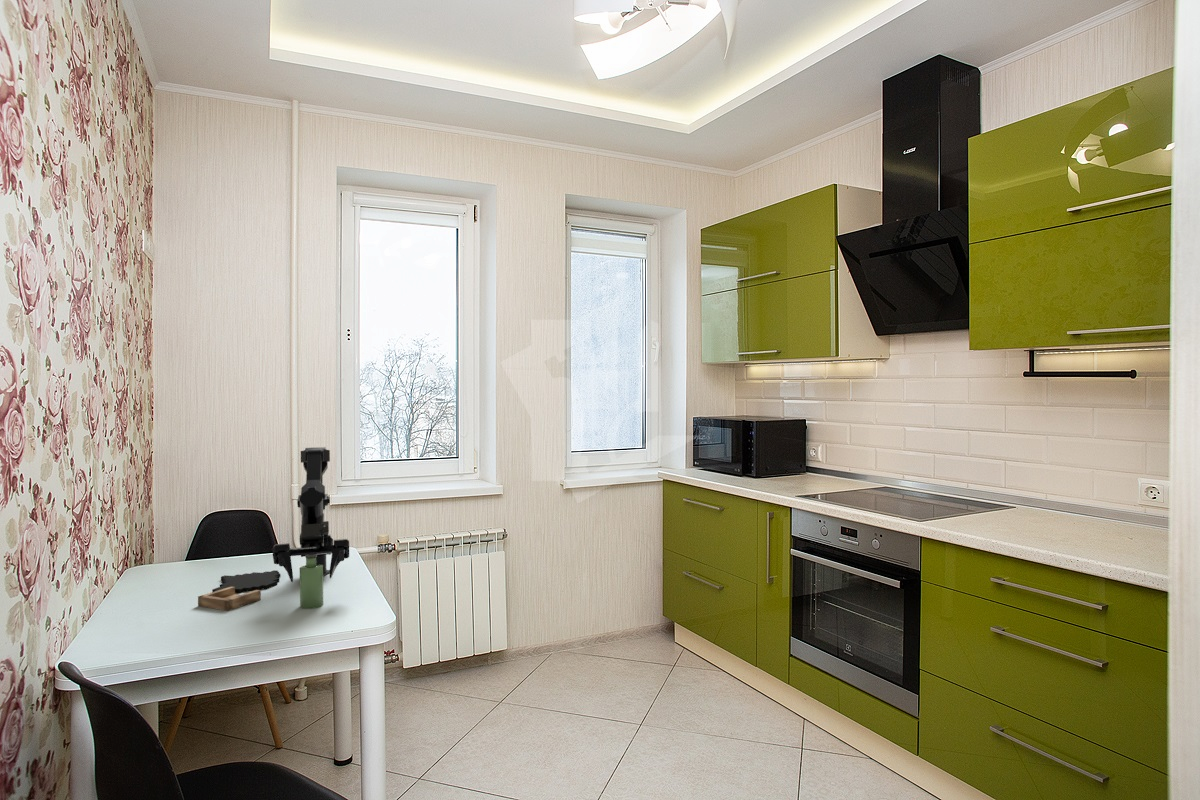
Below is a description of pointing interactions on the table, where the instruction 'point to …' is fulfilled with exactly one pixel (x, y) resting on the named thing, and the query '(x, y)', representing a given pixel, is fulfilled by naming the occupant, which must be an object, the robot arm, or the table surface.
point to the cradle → (228, 599)
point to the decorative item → (250, 581)
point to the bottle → (311, 583)
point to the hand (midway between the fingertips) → (311, 579)
